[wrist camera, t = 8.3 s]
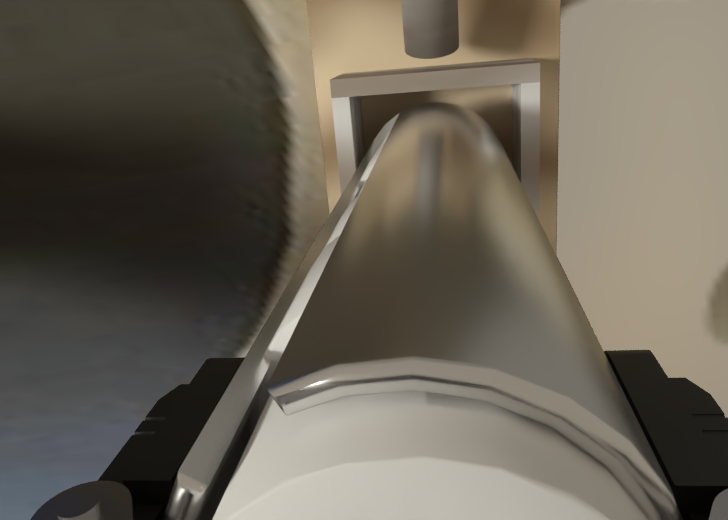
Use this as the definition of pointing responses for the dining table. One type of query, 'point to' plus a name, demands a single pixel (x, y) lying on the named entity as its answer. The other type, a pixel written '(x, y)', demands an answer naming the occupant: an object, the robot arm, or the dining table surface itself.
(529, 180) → the coupling stand
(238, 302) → the dining table surface
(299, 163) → the dining table surface
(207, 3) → the dining table surface
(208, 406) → the robot arm
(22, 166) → the dining table surface
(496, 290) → the air filter
